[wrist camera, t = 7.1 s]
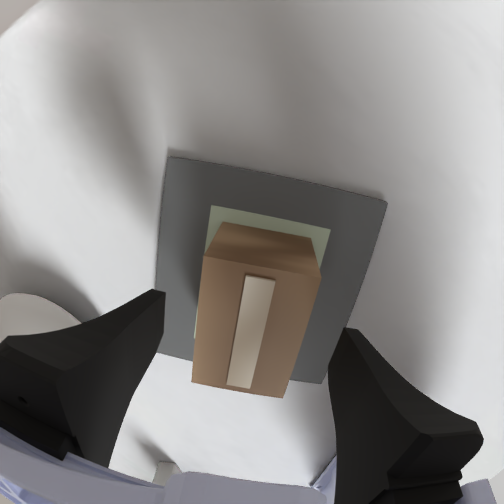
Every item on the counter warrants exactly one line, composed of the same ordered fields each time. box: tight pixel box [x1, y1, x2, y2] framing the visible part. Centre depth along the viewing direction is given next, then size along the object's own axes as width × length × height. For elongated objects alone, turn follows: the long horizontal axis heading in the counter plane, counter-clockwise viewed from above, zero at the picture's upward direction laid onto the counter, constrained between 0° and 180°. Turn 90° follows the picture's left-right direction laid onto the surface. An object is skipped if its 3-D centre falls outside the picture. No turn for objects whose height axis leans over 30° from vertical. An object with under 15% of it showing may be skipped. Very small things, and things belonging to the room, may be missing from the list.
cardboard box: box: [191, 222, 322, 398], centre depth 14 cm, size 4×6×4 cm, turn 170°
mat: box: [156, 157, 388, 384], centre depth 16 cm, size 11×10×1 cm
